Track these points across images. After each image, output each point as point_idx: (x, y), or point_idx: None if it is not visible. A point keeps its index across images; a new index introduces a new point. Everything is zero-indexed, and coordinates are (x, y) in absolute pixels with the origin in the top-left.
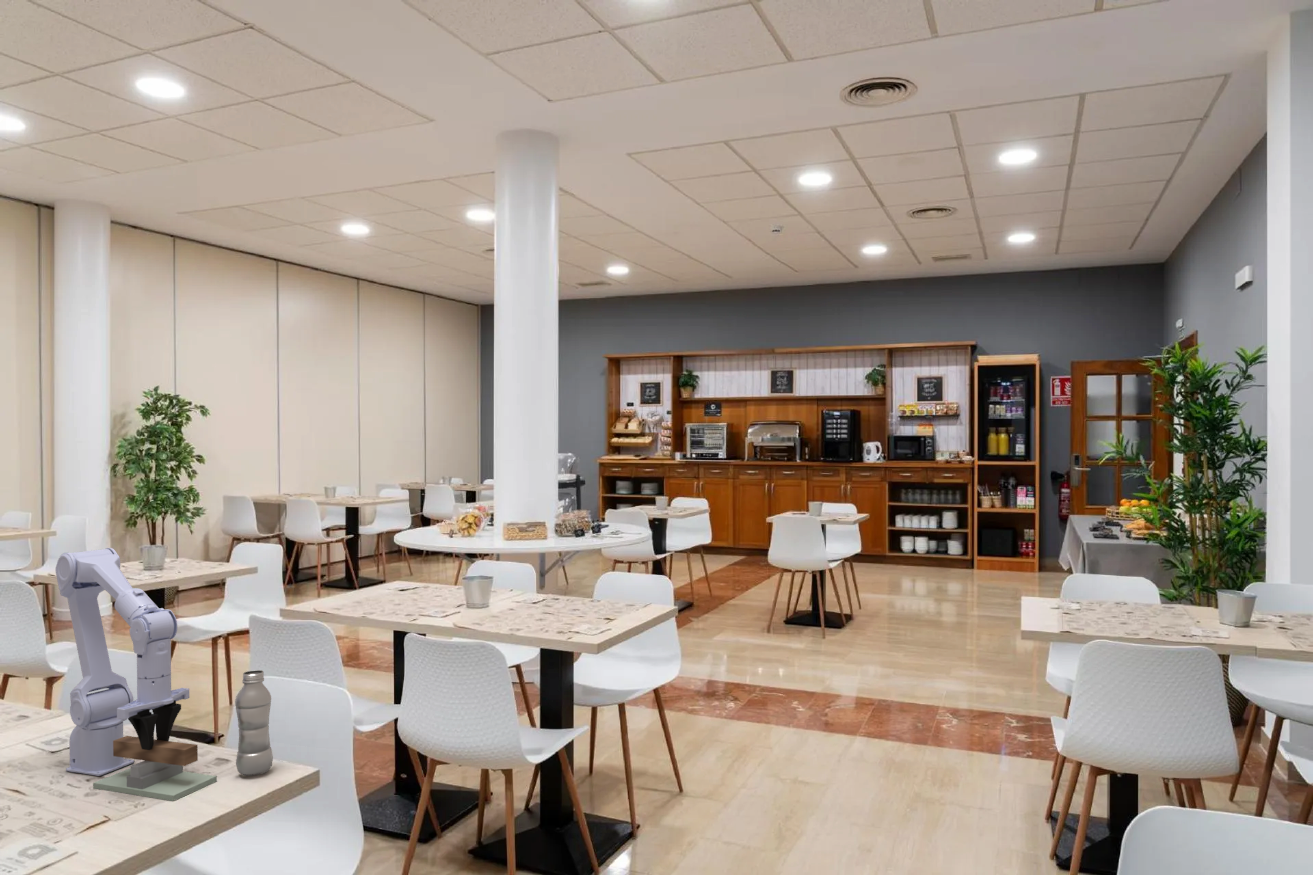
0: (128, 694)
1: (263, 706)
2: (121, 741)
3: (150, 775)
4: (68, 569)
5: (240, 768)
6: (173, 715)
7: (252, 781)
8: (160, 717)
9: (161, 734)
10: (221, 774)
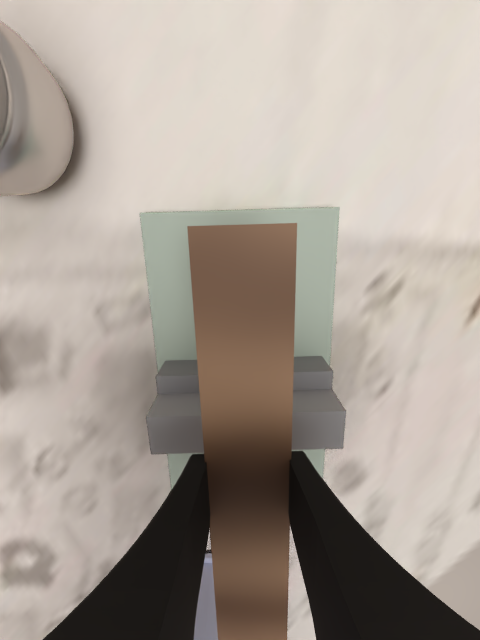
0: None
1: None
2: (283, 618)
3: (299, 372)
4: None
5: (67, 125)
6: (127, 614)
7: (84, 64)
8: None
9: (204, 518)
10: (93, 253)
